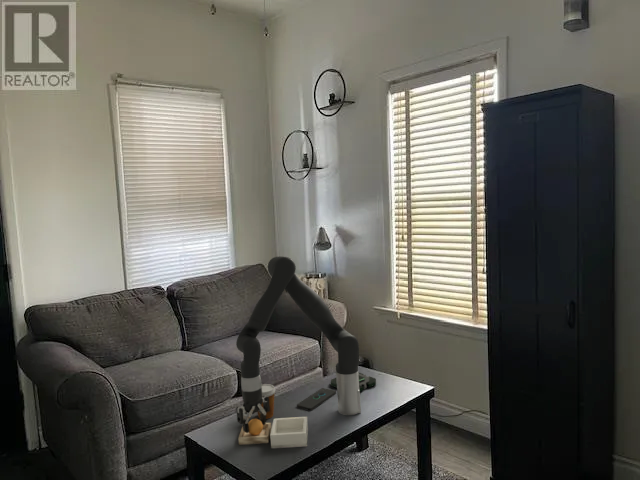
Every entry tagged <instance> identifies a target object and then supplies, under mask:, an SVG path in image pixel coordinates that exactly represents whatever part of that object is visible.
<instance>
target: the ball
mask: <svg viewBox="0 0 640 480" xmlns="http://www.w3.org/2000/svg"><path fill="white" fill-rule="evenodd" d="M248 425H249V433H250V434H251V435H258V434H260V433H261V431H262V429H263V424H262V422H261V420H260V418H252V419H251V420H250V419H249V421H248Z"/></svg>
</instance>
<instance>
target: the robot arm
mask: <svg viewBox="0 0 640 480" xmlns="http://www.w3.org/2000/svg"><path fill="white" fill-rule="evenodd" d="M296 268H297V267H296V263H295V261H294V260H293V259H292V258H290V257H289V256H288V257H287V256H274V257H272V258H271V259H270V260H269V261H268V263H267V271H268V274H269V275H270V277H271V279H270V282H269V284H268V286H267V288H266V290H265V292H264V293H263V294H262V295H261V297H260V298H259V300H258V301H257V303H256V304H255V306H254V308H253V310H252V312H251V314H250V316H249V320H248V322H246V324H245V326H244V327H243V328H242V330H241V331H240V333H239V334H238V336H237V338H236V345H235V346H236V348H237V350H238V351H240V352H241V353H242V354H243V360H242V361H241V362H240V376H241V379H240V384H241V385H240V386H241V395H242V398H241V399H242V401H243V403H242V405H241V406H237V407H236V408H235V410H236V412H235V413H236V422H237V423H238V424H241V425H242V426H243V431H245V432H246V433H248V432H249V425H248V423H249V421H250V418H252V415H253V414H255V413H258V411H259V412H260V413H261V414H260V418H259V420H260V421H261V422H262V424H263V425H265V424H266V423H267V419H266V413H267V412H269V411H270V405H269V397H267V396H263V397H262V379H261V373H260V372H261V370H260V359H261V351H262V349H261V347H262V346H261V343H260V341H259V339H258V338H257V337H258V335H259V333H261V332H264V331H265V330H266V327H267V325H268V323H269V321H270V319H271V317H272V315H273V312H274V311H275V308H276V305H277V303H278V302H279V299H280V298H281V296H282V294H283V293H284V291H286V293H288V295H289V296H290V298H291V299H292V301H294V302H295V304H296V305H297V306H298V308H299V309H300V310H301V312H302V313H303V314H304V315H305V316H306V318H307V319H308V320H309V321H310V322H311V323H312V324H314V326H315V327H317V329H319V330H320V331H321V333H322V334H324V336H325V338H326V339H327V341H328V342H329V344H330V345H331V347H332V348H333V349H334V351H335V352H337V363H336V364H335V374H336V375H335V376H336V377H335V378H336V379H337V388H336V394H337V409H338V413H339V414H341V415H344V416H354V415H357V414H361V413H362V407H361V391H360V390H359V377H358V372H359V364H360V345H359V341H358V339H357V337H356V336H355V335H353V334H352V333H350V332H349V331H347V330H346V329H345V328H343V327H342V325H340V323H338V322H337V320H336V319H335V318H334V315H333V314H332V311H331V309H330V307H328V305H327V303H326V302H325V301H324V299H322V297H321V295H320V294H319V293H317V292H316V291H315V290H314V289H313V288H311V287H310V286H309V285H308V284H306V283H305V282H304V281H302V279H301V278H299V276H298V275H297V274H296V271H297V269H296ZM262 402H263V407H262V406H261V405H262ZM263 408H264V409H263Z"/></svg>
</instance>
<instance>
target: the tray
mask: <svg viewBox="0 0 640 480" xmlns="http://www.w3.org/2000/svg"><path fill="white" fill-rule="evenodd" d="M265 423H266V424H265V425H263V429H262V431H261V433H260V434H258V435H251V434H250V433H249V432H248V433H246V432H245V431H243V425H242V427H241V430H240V433H239V435H238V445H239V446H240V445H256V444H258V445H260V444H269V441H270V439H271V438H270V434H271V429H272V422H265Z"/></svg>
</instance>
